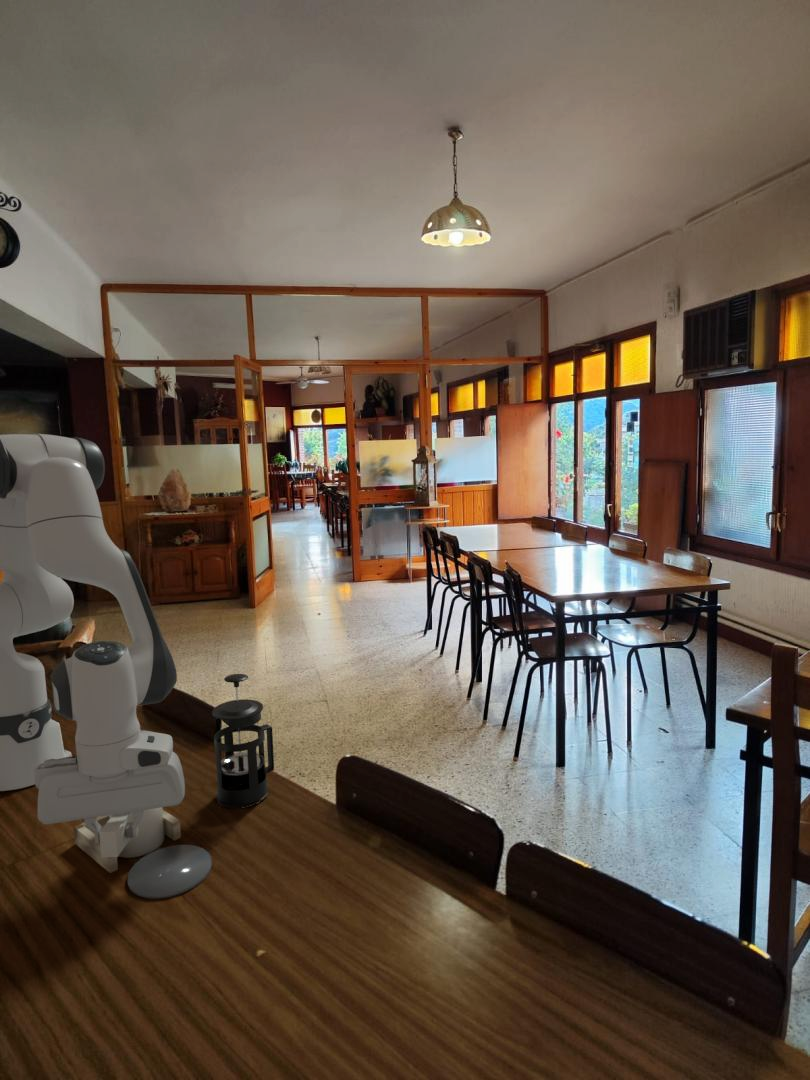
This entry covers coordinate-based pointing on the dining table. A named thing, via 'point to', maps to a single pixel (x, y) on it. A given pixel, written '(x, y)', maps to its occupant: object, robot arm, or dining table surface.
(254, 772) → the french press
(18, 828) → the dining table surface
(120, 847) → the white handled cylinder
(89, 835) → the stand
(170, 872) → the mat
